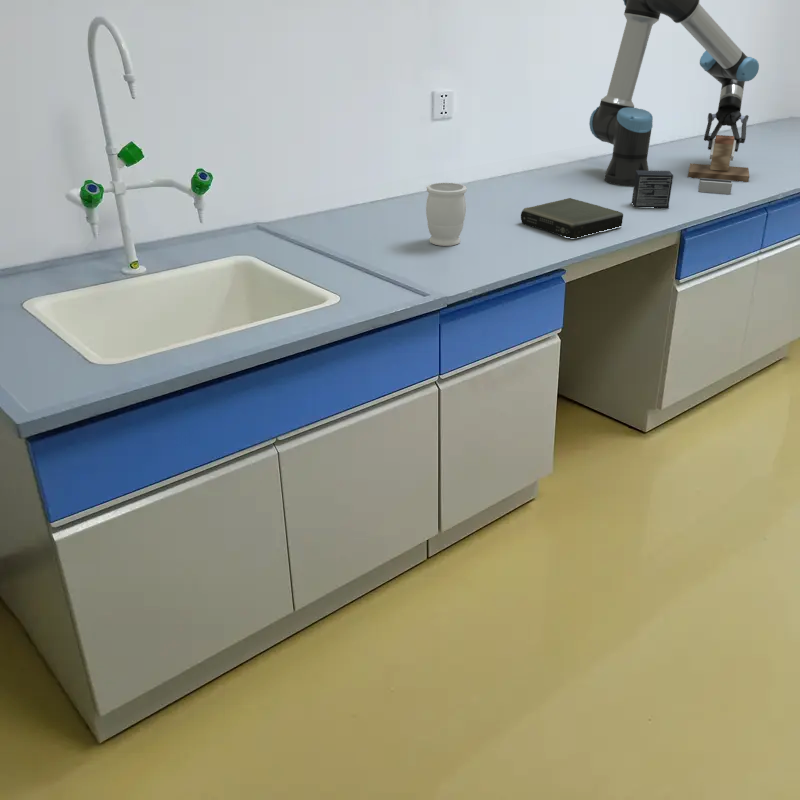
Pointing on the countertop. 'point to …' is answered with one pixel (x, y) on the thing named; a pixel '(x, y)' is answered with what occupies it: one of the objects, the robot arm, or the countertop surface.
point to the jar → (445, 212)
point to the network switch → (571, 217)
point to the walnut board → (719, 173)
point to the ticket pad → (722, 152)
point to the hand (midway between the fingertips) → (721, 157)
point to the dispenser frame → (715, 186)
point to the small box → (652, 189)
